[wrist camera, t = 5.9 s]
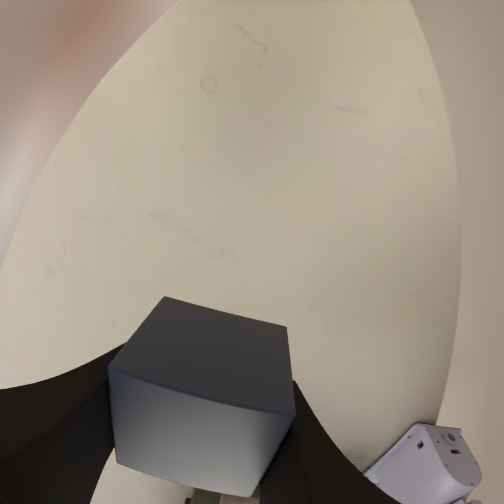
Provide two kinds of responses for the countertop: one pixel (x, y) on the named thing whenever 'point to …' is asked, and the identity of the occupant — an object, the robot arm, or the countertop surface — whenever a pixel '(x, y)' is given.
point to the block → (202, 397)
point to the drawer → (223, 497)
